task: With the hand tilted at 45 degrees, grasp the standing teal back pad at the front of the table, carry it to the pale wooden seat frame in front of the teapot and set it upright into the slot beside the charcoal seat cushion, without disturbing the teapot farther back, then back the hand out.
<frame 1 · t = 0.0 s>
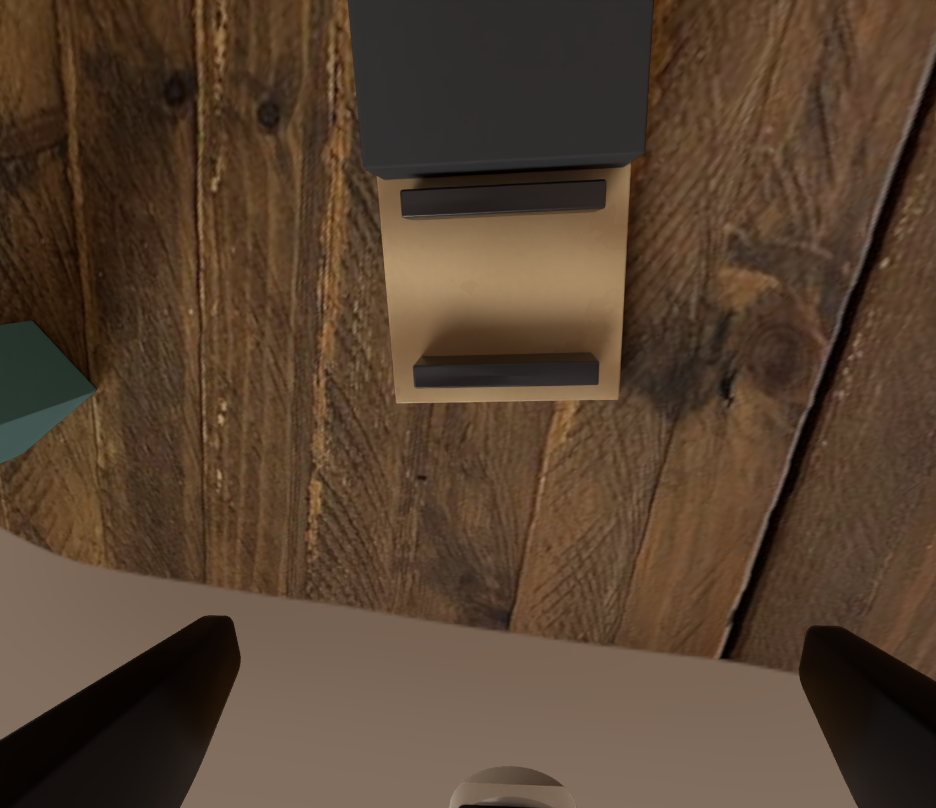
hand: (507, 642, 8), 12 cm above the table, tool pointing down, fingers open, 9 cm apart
seat frame: (503, 285, 18), on the table
back pad: (27, 389, 20), on the table
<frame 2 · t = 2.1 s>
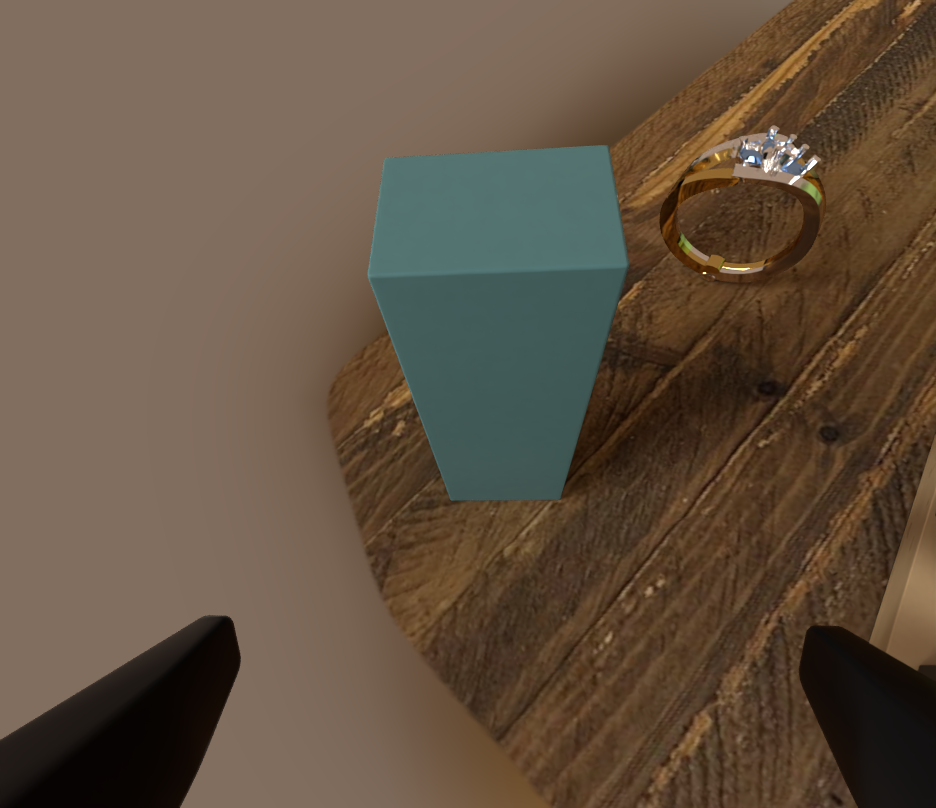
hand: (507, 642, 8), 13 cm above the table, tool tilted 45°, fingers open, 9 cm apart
ring: (707, 277, 28), on the table
back pad: (504, 464, 24), on the table
when the fingers open (9 cm above the table, at t = 11.2 s): back pad stays where it is, resting on seat frame.
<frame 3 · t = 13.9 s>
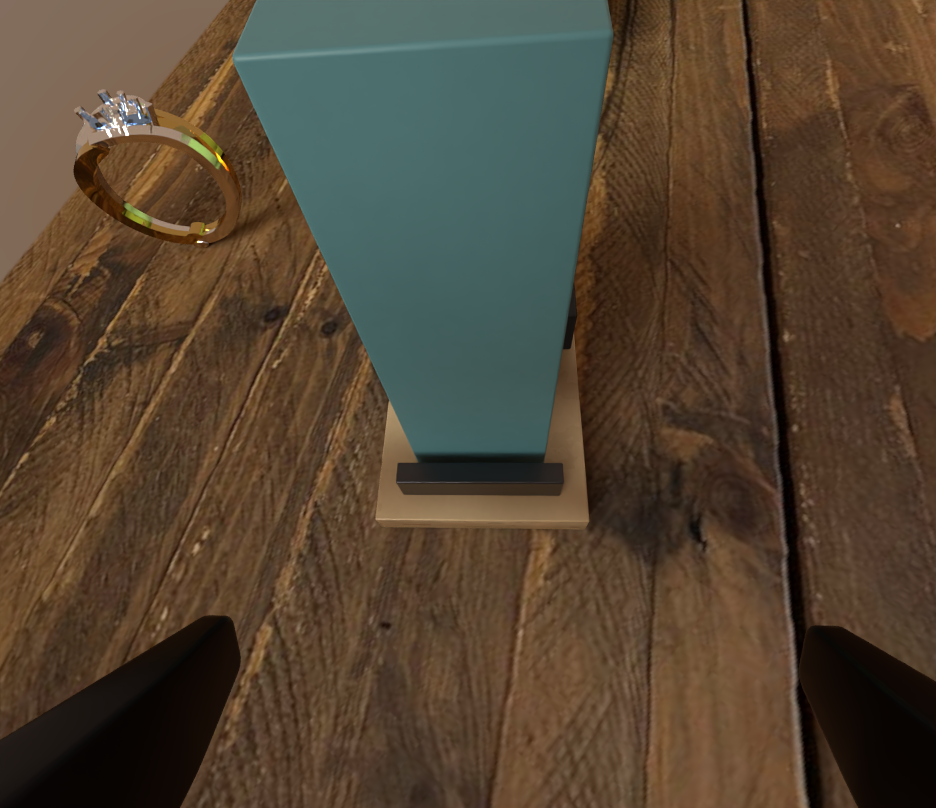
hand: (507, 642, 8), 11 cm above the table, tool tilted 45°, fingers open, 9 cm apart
ring: (206, 244, 28), on the table
seat frame: (483, 435, 21), on the table
back pad: (481, 423, 20), point 1 cm above the table, touching seat frame
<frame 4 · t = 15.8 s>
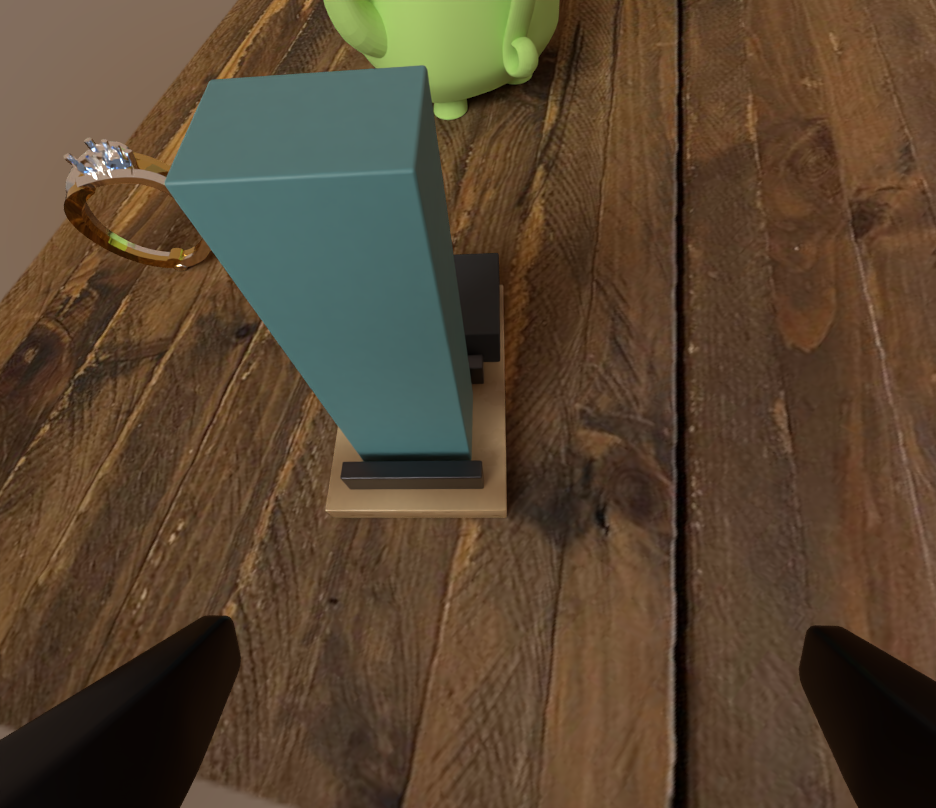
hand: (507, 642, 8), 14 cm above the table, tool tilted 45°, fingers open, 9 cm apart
ring: (185, 267, 32), on the table
seat frame: (424, 437, 25), on the table
back pad: (419, 427, 24), point 1 cm above the table, touching seat frame
teapot: (448, 83, 39), on the table
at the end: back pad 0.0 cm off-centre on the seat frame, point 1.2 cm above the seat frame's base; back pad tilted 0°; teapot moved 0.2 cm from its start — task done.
